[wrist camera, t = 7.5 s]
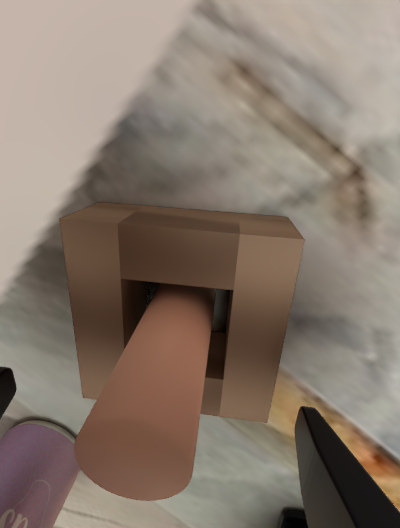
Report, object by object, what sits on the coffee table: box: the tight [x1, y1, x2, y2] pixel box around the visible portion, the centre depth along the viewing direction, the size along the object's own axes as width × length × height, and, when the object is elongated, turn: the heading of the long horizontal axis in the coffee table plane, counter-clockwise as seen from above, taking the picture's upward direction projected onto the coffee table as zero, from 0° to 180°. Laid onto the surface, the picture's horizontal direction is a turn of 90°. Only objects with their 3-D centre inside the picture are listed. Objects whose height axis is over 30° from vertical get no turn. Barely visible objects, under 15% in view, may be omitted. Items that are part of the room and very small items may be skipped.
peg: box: [74, 283, 216, 501], centre depth 11 cm, size 3×3×9 cm
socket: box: [59, 202, 305, 423], centre depth 14 cm, size 9×9×4 cm
